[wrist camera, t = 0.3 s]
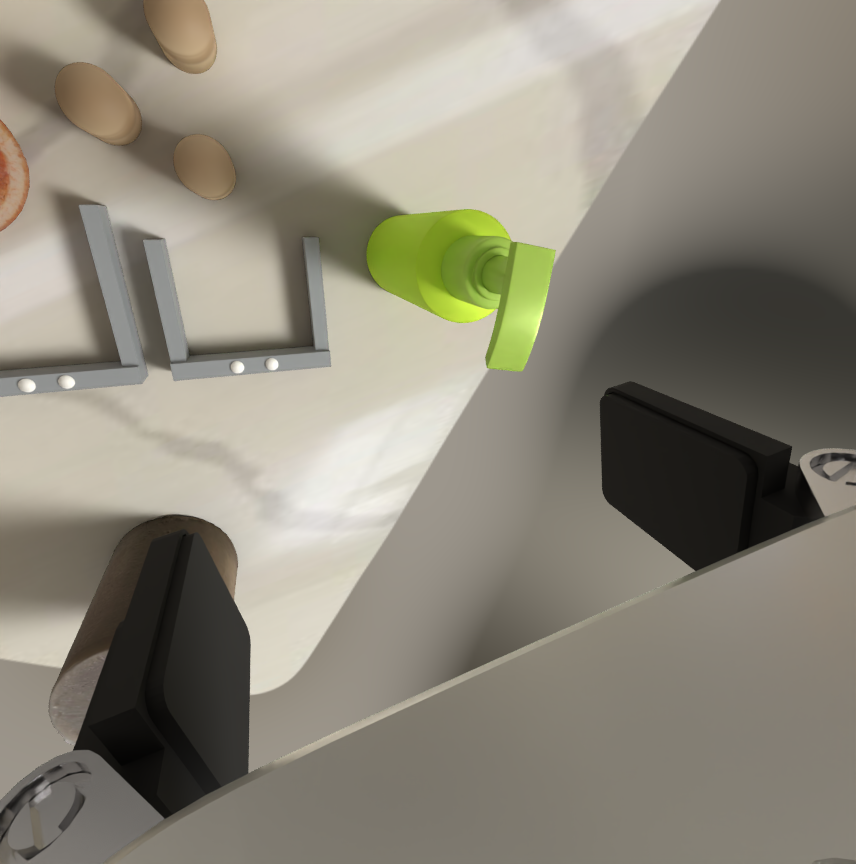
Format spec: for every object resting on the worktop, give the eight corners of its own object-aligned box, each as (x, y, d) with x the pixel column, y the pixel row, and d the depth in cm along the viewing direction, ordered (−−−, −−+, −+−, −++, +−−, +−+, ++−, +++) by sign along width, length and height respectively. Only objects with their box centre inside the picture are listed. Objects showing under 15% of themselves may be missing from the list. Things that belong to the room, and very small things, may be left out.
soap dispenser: (360, 302, 38) (449, 367, 20) (371, 208, 35) (482, 188, 18) (429, 312, 40) (564, 378, 22) (444, 223, 37) (608, 219, 20)
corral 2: (148, 239, 32) (141, 240, 30) (316, 237, 35) (319, 237, 33) (178, 372, 35) (173, 381, 33) (327, 359, 38) (331, 366, 36)
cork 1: (72, 80, 28) (46, 59, 24) (134, 85, 29) (117, 65, 25) (88, 144, 29) (65, 132, 25) (147, 146, 30) (132, 135, 26)
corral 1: (-159, 205, 27) (-194, 202, 25) (106, 206, 30) (95, 204, 28) (-74, 394, 31) (-97, 406, 29) (148, 375, 35) (141, 384, 33)
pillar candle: (169, 493, 38) (119, 632, 25) (261, 555, 43) (259, 698, 30) (83, 572, 39) (-9, 748, 26) (184, 624, 44) (149, 796, 30)
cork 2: (152, 4, 27) (136, -29, 24) (211, 11, 28) (204, -20, 25) (164, 71, 29) (151, 49, 25) (221, 75, 30) (216, 55, 26)
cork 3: (178, 144, 30) (167, 133, 27) (231, 146, 31) (228, 135, 28) (188, 199, 32) (179, 196, 28) (239, 200, 32) (237, 196, 29)
